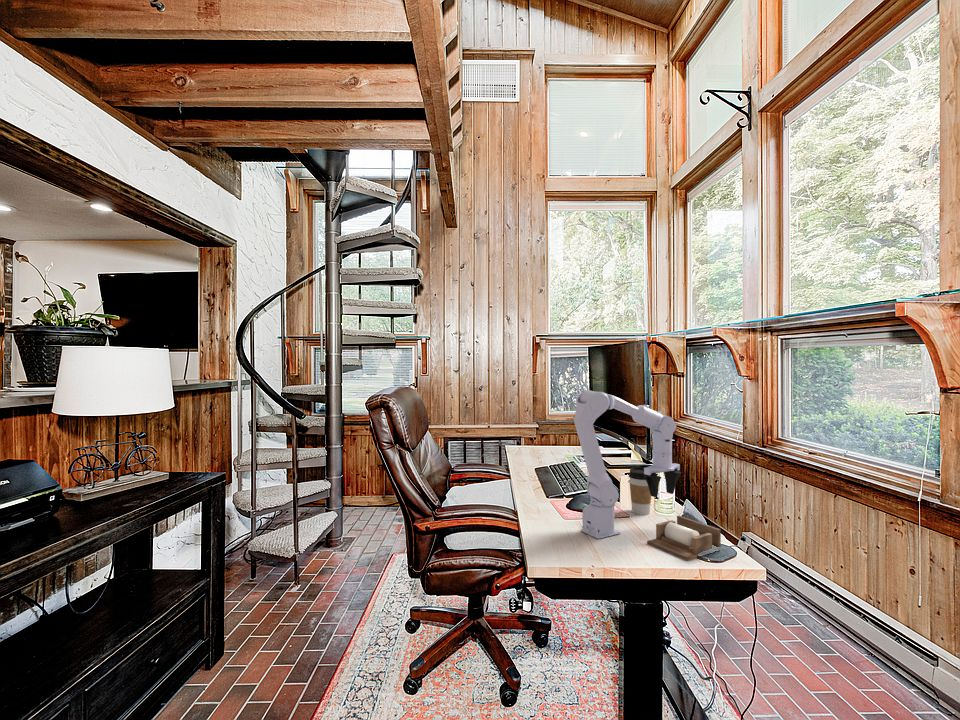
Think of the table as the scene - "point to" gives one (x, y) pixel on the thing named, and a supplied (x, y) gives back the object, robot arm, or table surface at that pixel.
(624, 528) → the table surface
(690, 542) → the roll
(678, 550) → the holder
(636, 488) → the coffee cup
